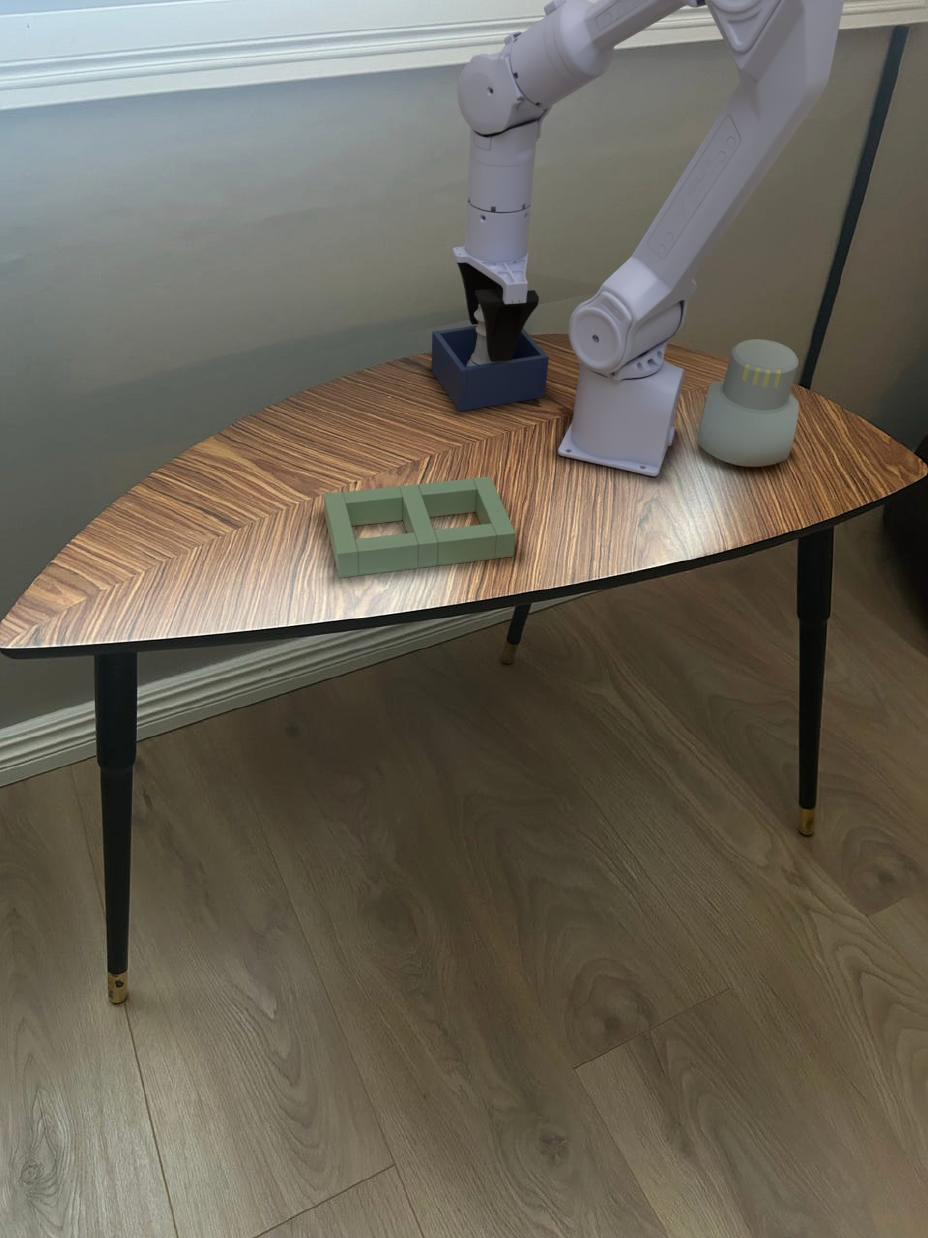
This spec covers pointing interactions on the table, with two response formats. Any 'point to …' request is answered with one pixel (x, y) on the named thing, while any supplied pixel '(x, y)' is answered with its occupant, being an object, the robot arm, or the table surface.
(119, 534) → the table surface
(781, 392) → the air freshener
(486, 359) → the rook chess piece
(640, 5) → the robot arm
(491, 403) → the bin
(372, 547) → the frame
